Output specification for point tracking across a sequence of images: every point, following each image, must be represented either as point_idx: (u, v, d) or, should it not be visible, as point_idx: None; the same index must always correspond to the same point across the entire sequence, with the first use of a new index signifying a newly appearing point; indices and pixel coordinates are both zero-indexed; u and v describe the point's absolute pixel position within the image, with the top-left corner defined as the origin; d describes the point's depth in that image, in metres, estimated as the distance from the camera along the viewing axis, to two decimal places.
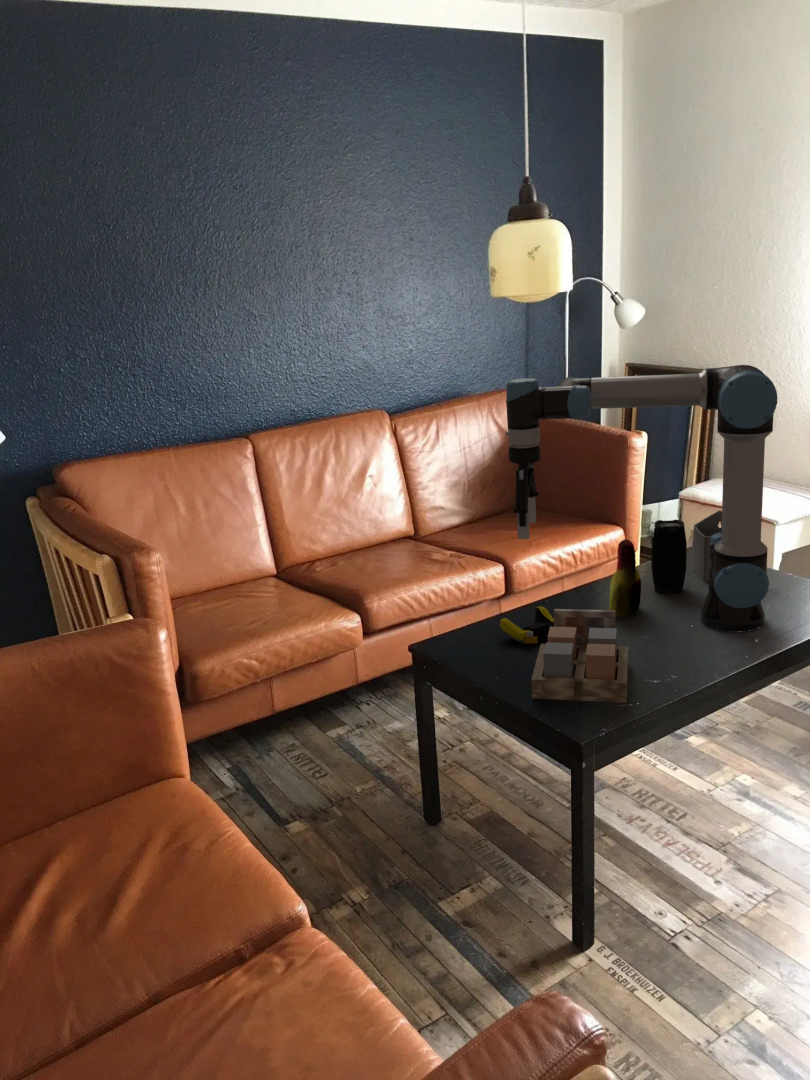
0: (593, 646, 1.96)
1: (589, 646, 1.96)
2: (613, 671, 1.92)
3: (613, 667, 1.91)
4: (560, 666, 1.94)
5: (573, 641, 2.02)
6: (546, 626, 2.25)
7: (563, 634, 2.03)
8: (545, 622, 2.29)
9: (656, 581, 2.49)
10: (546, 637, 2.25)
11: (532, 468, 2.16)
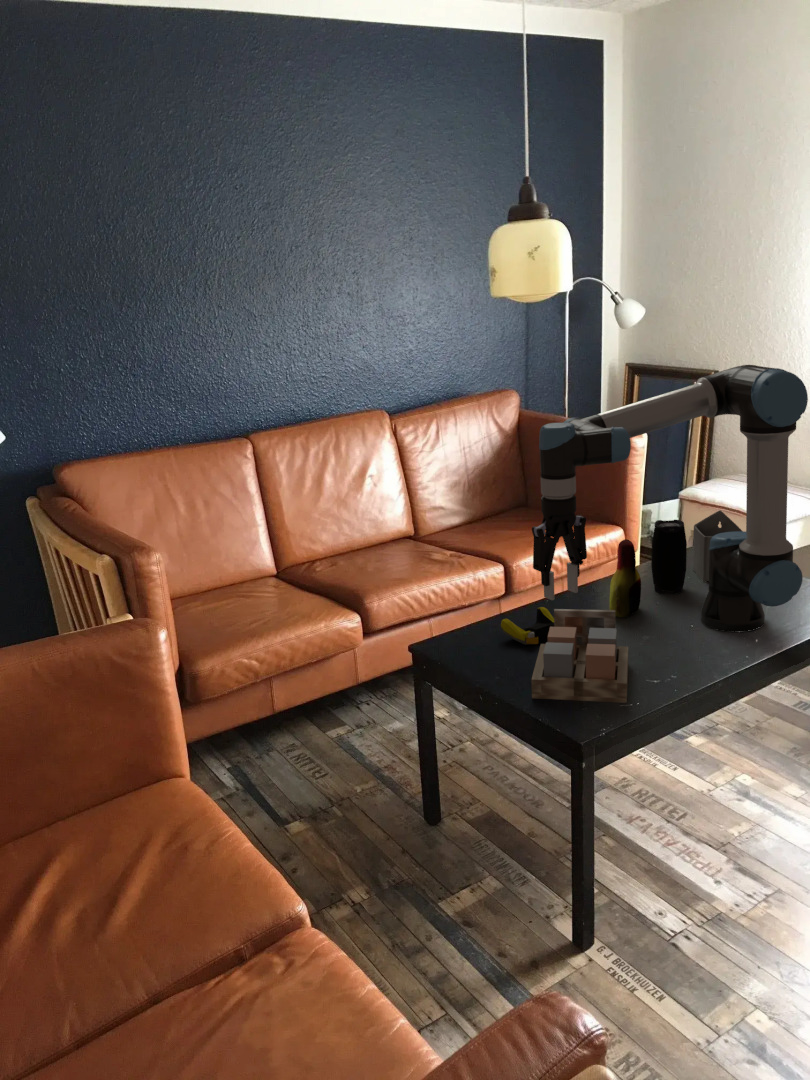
0: (593, 646, 1.96)
1: (589, 646, 1.96)
2: (613, 671, 1.92)
3: (613, 667, 1.91)
4: (560, 666, 1.94)
5: (573, 641, 2.02)
6: (547, 627, 2.24)
7: (563, 634, 2.03)
8: (546, 623, 2.28)
9: (656, 581, 2.49)
10: (547, 638, 2.24)
11: (568, 521, 1.96)
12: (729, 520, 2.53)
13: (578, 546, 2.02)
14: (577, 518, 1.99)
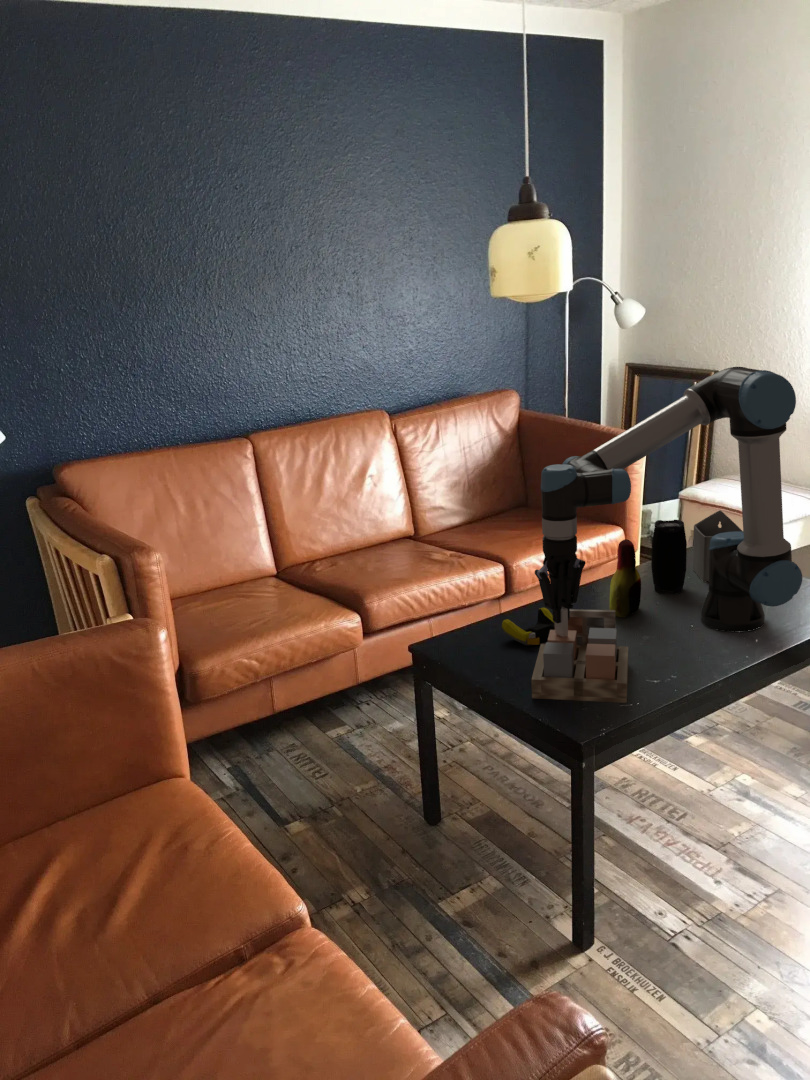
0: (593, 646, 1.96)
1: (589, 646, 1.96)
2: (613, 671, 1.92)
3: (613, 667, 1.91)
4: (560, 666, 1.94)
5: None
6: (548, 627, 2.24)
7: (563, 638, 2.04)
8: (547, 623, 2.28)
9: (656, 581, 2.49)
10: None
11: (569, 561, 1.99)
12: (729, 520, 2.53)
13: (571, 588, 2.03)
14: (577, 560, 2.02)
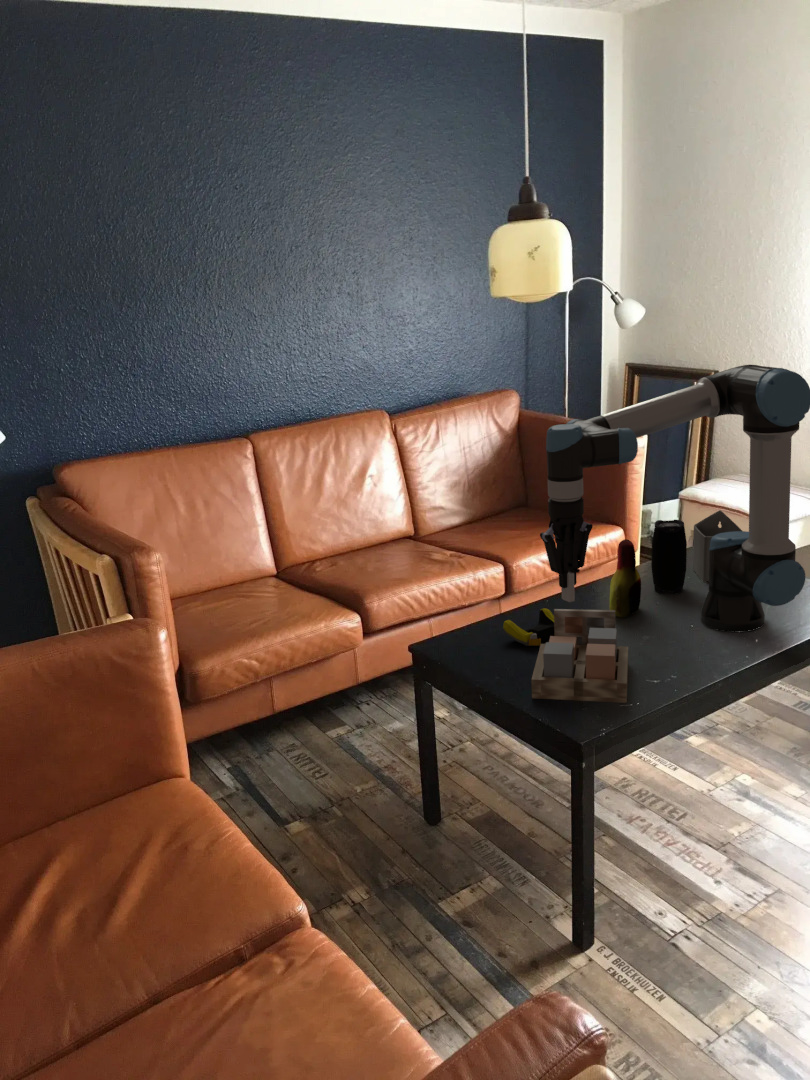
0: (593, 646, 1.96)
1: (589, 646, 1.96)
2: (613, 671, 1.92)
3: (613, 667, 1.91)
4: (560, 666, 1.94)
5: None
6: (550, 628, 2.23)
7: None
8: (549, 624, 2.27)
9: (656, 581, 2.49)
10: None
11: (576, 523, 1.94)
12: (729, 520, 2.53)
13: (578, 552, 1.99)
14: (584, 523, 1.97)
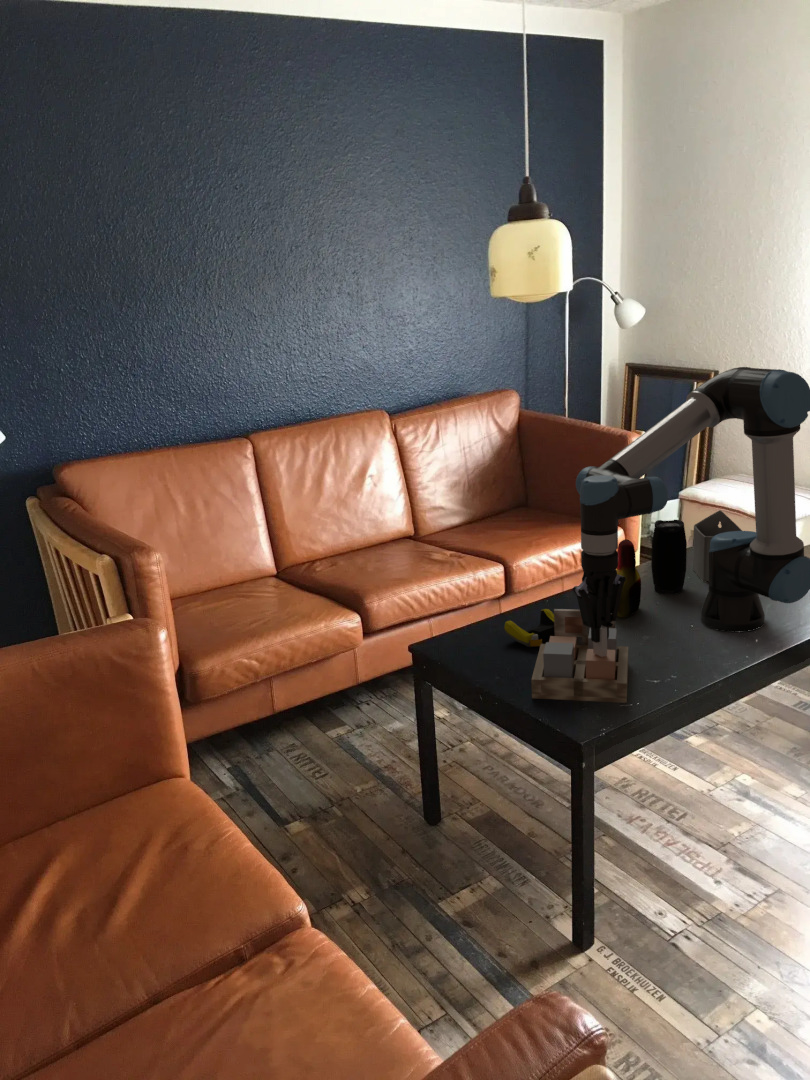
0: None
1: (589, 651, 1.97)
2: (613, 676, 1.92)
3: (613, 672, 1.92)
4: (560, 666, 1.94)
5: None
6: (551, 629, 2.23)
7: None
8: (550, 625, 2.27)
9: (656, 581, 2.49)
10: None
11: (609, 577, 1.89)
12: (729, 520, 2.53)
13: (610, 606, 1.93)
14: (617, 576, 1.91)
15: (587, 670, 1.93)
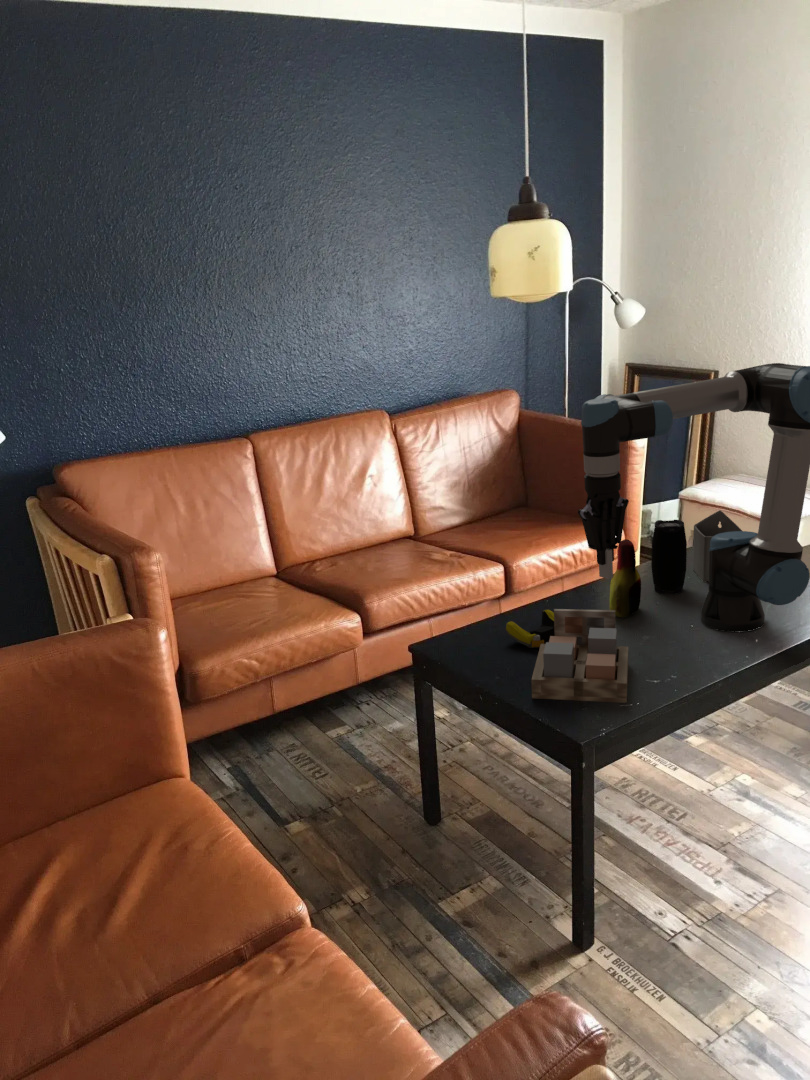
0: (594, 656, 1.97)
1: (589, 656, 1.97)
2: None
3: (613, 677, 1.92)
4: (560, 666, 1.94)
5: None
6: (553, 630, 2.22)
7: None
8: (552, 625, 2.26)
9: (656, 581, 2.49)
10: None
11: (613, 499, 1.92)
12: (729, 520, 2.53)
13: (614, 528, 1.96)
14: (620, 498, 1.95)
15: (587, 675, 1.93)
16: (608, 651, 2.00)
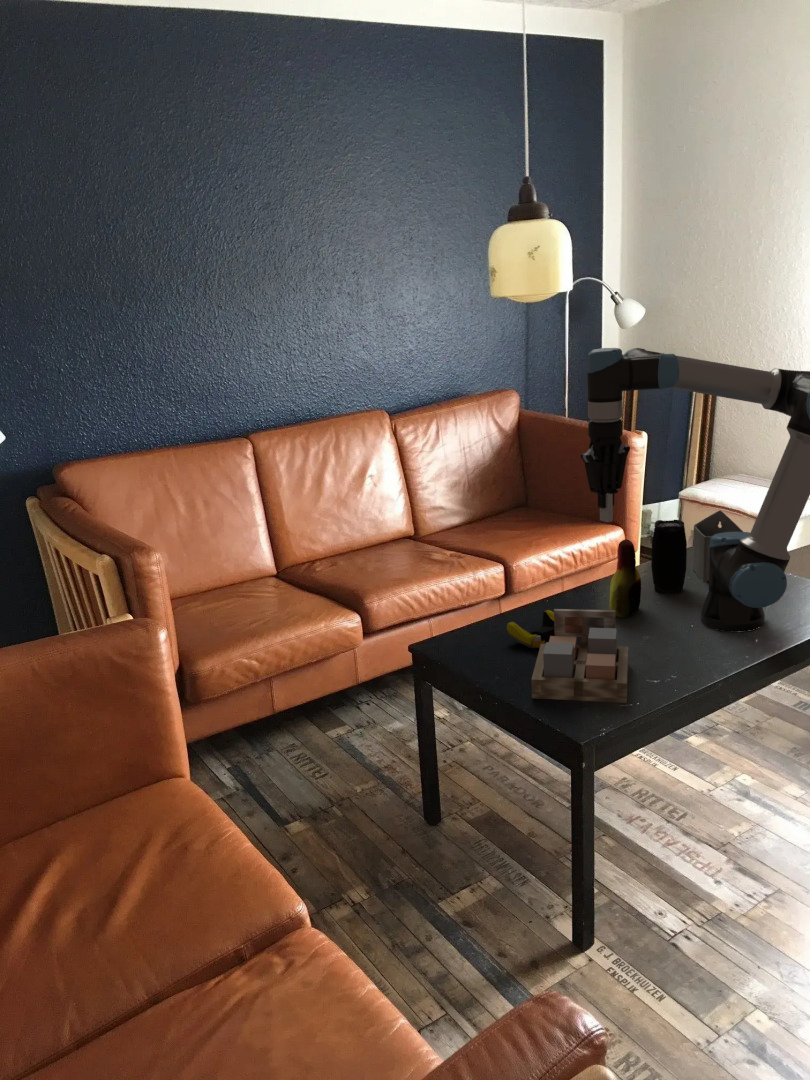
0: (594, 656, 1.97)
1: (589, 656, 1.97)
2: None
3: (613, 677, 1.92)
4: (560, 666, 1.94)
5: None
6: (554, 630, 2.22)
7: None
8: (553, 626, 2.26)
9: (656, 581, 2.49)
10: None
11: (615, 445, 2.02)
12: (729, 520, 2.53)
13: (615, 474, 2.06)
14: (622, 445, 2.05)
15: (587, 675, 1.93)
16: (608, 651, 2.00)
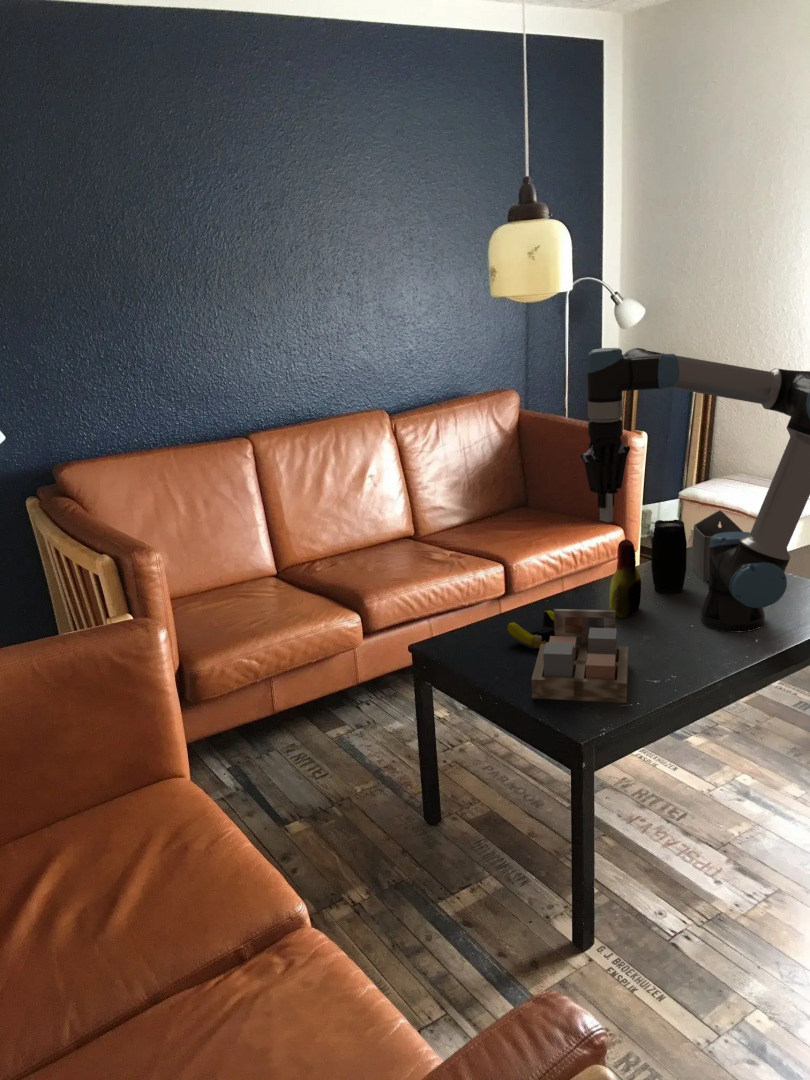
0: (594, 656, 1.97)
1: (589, 656, 1.97)
2: None
3: (613, 677, 1.92)
4: (560, 666, 1.94)
5: None
6: None
7: None
8: (553, 626, 2.26)
9: (656, 581, 2.49)
10: None
11: (615, 445, 2.02)
12: (729, 520, 2.53)
13: (615, 474, 2.06)
14: (622, 445, 2.05)
15: (587, 675, 1.93)
16: (608, 651, 2.00)
